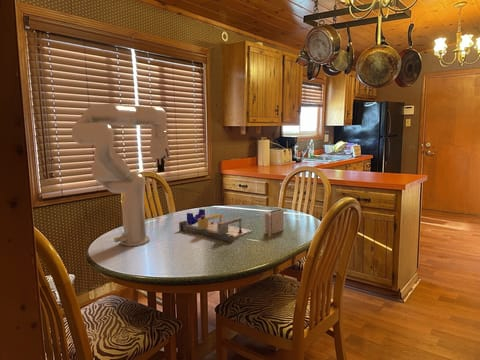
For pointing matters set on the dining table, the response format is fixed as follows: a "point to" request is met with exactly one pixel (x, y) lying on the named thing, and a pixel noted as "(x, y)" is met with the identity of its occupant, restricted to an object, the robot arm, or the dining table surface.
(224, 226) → the fixed leg
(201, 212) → the cable clip
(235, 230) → the bolt plate
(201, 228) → the sliding leg
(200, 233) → the rail
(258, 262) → the dining table surface
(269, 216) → the hinge
